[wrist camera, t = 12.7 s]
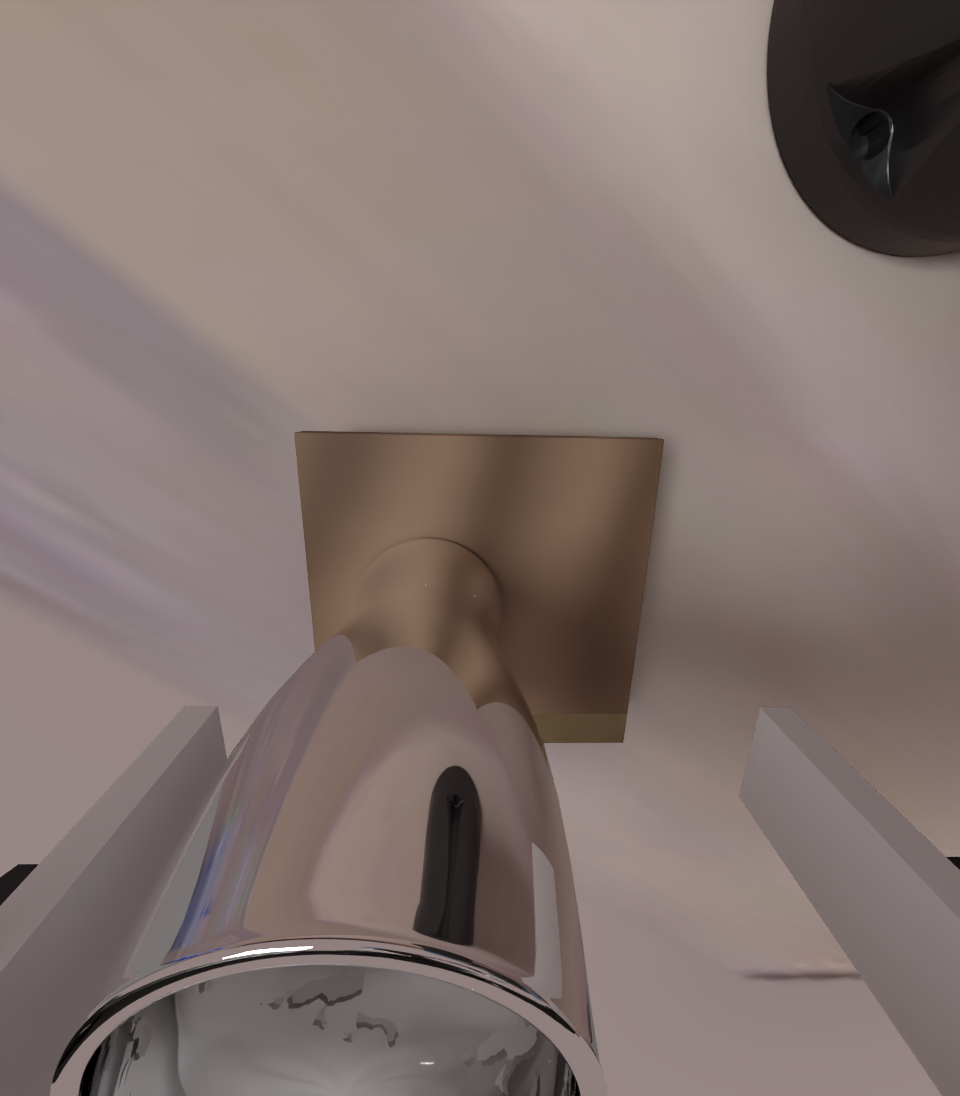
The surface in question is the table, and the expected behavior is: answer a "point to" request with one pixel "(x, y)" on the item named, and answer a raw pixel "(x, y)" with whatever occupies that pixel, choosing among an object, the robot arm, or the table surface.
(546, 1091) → the beer glass
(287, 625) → the table surface
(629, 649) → the dock
